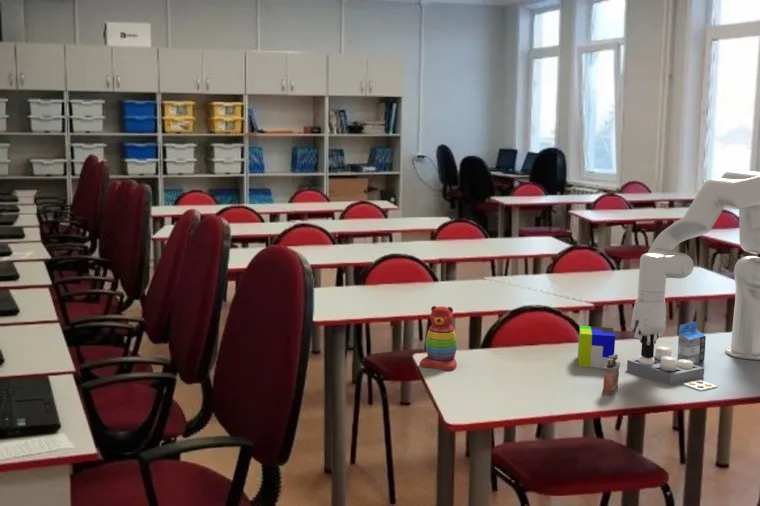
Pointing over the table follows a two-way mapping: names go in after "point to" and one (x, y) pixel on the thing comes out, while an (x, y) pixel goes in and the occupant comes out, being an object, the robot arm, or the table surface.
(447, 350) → the stacking bear
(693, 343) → the label tape box
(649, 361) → the button
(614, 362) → the lighter
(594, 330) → the puzzle toy
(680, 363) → the button
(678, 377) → the button board
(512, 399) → the table surface
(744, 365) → the table surface
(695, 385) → the pattern card
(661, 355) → the button
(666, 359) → the button
